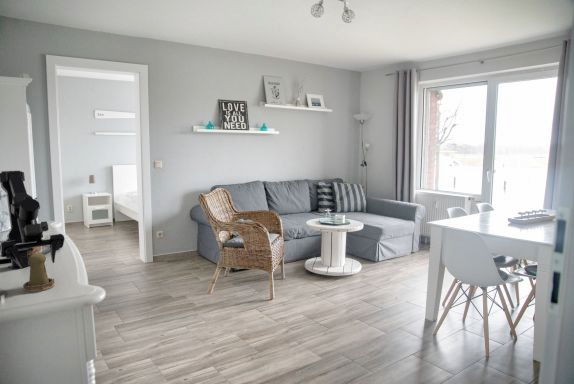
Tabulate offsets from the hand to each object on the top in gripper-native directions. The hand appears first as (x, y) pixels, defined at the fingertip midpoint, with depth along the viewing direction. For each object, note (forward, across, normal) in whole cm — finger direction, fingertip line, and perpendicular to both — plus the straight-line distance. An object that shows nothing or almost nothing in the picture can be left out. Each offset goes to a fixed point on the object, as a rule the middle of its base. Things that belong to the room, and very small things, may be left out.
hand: (38, 265), depth 138 cm
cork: (+4, 0, +7) cm, 8 cm away
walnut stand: (+5, 0, +7) cm, 8 cm away
